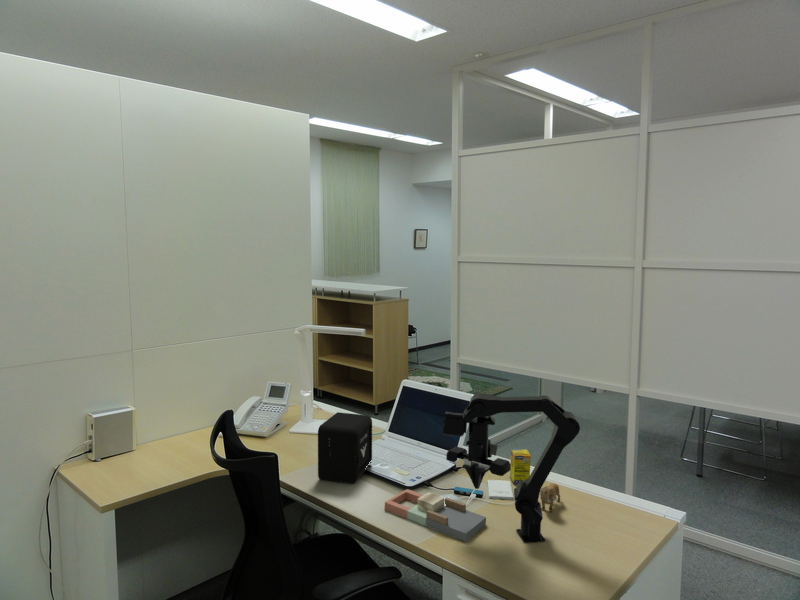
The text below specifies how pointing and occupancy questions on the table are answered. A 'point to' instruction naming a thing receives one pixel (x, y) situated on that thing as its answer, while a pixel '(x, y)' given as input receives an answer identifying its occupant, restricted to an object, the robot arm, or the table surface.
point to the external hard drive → (500, 489)
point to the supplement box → (520, 465)
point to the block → (430, 502)
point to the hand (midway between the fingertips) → (477, 488)
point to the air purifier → (344, 447)
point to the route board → (439, 516)
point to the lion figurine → (549, 496)
